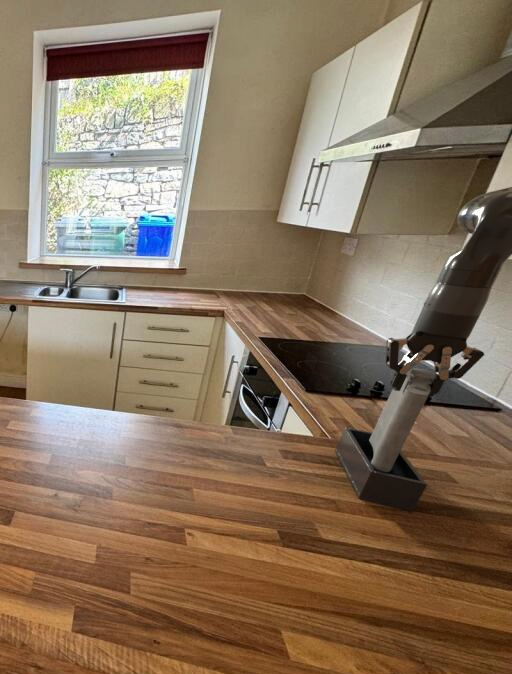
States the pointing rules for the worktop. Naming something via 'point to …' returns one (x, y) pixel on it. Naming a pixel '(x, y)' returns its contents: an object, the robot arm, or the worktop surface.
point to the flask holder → (378, 473)
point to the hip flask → (399, 418)
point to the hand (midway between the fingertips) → (411, 391)
